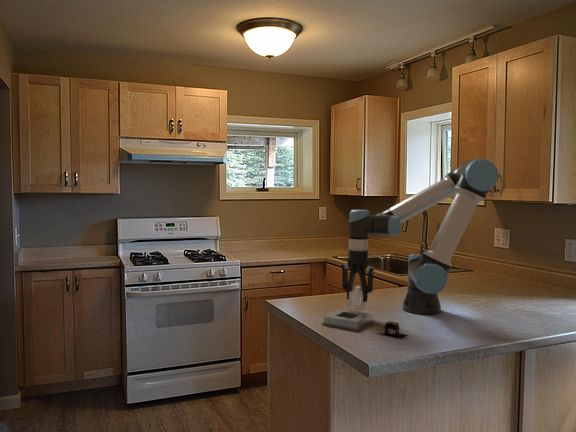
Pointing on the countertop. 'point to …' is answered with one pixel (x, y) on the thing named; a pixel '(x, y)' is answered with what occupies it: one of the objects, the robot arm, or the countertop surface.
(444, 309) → the countertop surface
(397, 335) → the black bracket mount
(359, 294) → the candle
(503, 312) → the countertop surface
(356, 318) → the block
